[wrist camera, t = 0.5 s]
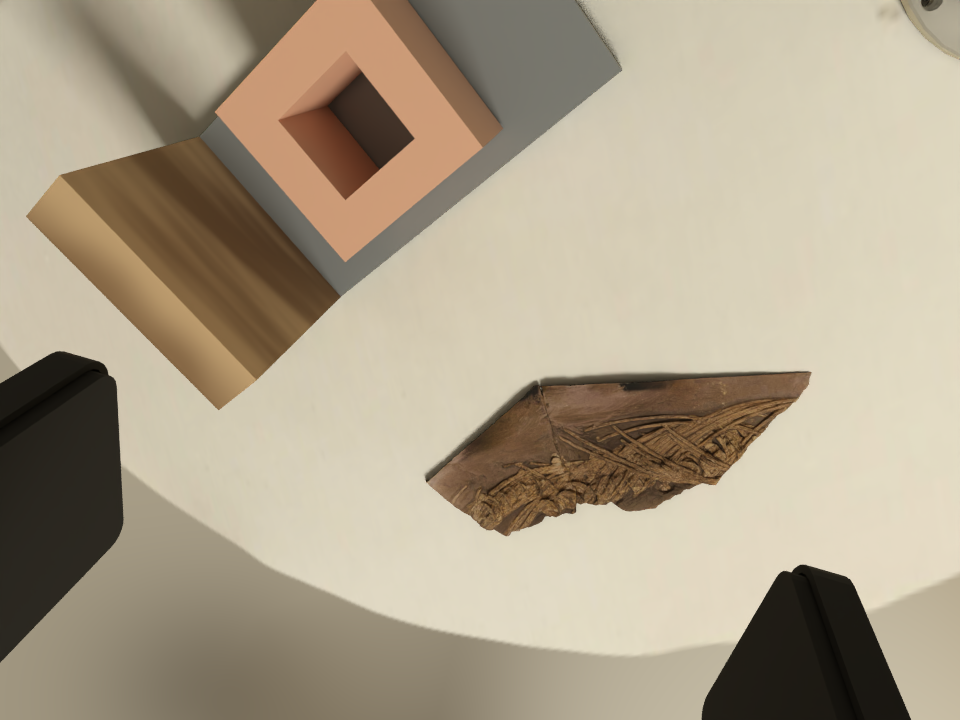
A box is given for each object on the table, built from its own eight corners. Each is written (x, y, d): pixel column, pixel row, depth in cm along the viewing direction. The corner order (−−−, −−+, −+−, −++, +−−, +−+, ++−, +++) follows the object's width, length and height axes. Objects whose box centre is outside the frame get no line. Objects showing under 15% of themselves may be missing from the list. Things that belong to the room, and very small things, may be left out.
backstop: (199, 136, 39) (59, 175, 29) (340, 296, 42) (256, 380, 32) (169, 169, 40) (25, 216, 30) (308, 322, 43) (218, 410, 33)
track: (472, -152, 31) (468, -157, 30) (621, 68, 34) (622, 70, 33) (165, 180, 41) (155, 184, 41) (299, 328, 44) (293, 334, 43)
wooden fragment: (459, 541, 50) (456, 551, 49) (398, 419, 47) (393, 427, 46) (830, 466, 42) (835, 476, 41) (792, 310, 38) (797, 317, 38)
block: (389, -24, 33) (346, -32, 28) (503, 128, 35) (482, 147, 30) (272, 98, 37) (214, 111, 31) (382, 229, 39) (345, 262, 34)
